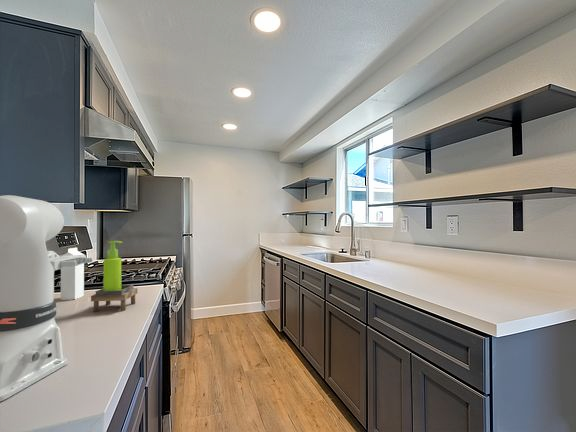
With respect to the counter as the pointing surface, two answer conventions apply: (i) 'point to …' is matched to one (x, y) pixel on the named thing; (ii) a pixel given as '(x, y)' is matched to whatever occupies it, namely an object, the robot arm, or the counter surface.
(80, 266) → the milk
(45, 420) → the counter surface
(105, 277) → the soap dispenser
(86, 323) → the counter surface
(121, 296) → the stool
